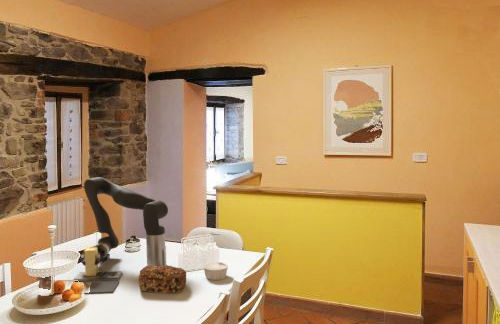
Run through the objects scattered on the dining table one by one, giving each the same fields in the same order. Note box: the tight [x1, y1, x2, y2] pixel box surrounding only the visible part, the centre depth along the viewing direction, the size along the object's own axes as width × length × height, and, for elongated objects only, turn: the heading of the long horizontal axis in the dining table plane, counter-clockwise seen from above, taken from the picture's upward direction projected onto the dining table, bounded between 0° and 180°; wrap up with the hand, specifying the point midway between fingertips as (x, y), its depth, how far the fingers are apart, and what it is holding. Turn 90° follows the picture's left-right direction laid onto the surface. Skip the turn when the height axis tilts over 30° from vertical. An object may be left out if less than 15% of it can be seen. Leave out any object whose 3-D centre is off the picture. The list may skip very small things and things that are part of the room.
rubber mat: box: [88, 280, 120, 295], centre depth 191 cm, size 12×12×1 cm
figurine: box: [37, 275, 56, 290], centre depth 185 cm, size 7×7×12 cm
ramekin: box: [203, 261, 229, 281], centre depth 203 cm, size 11×11×5 cm
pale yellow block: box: [84, 246, 100, 277], centre depth 202 cm, size 5×5×14 cm
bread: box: [138, 265, 187, 294], centre depth 189 cm, size 19×11×10 cm, turn 81°
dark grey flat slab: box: [73, 270, 124, 283], centre depth 203 cm, size 20×9×2 cm, turn 94°
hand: (90, 263), depth 200 cm, fingers closed on pale yellow block, 4 cm apart
